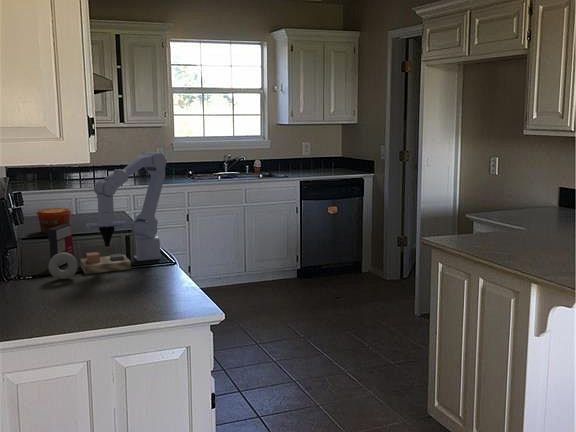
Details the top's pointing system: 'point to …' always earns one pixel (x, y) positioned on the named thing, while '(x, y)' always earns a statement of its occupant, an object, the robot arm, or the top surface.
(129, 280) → the top surface
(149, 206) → the robot arm
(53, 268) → the donut
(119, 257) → the gray cube
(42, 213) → the food container
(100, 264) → the tan flat rectangular block
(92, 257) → the brown cube
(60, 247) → the grey and red box
